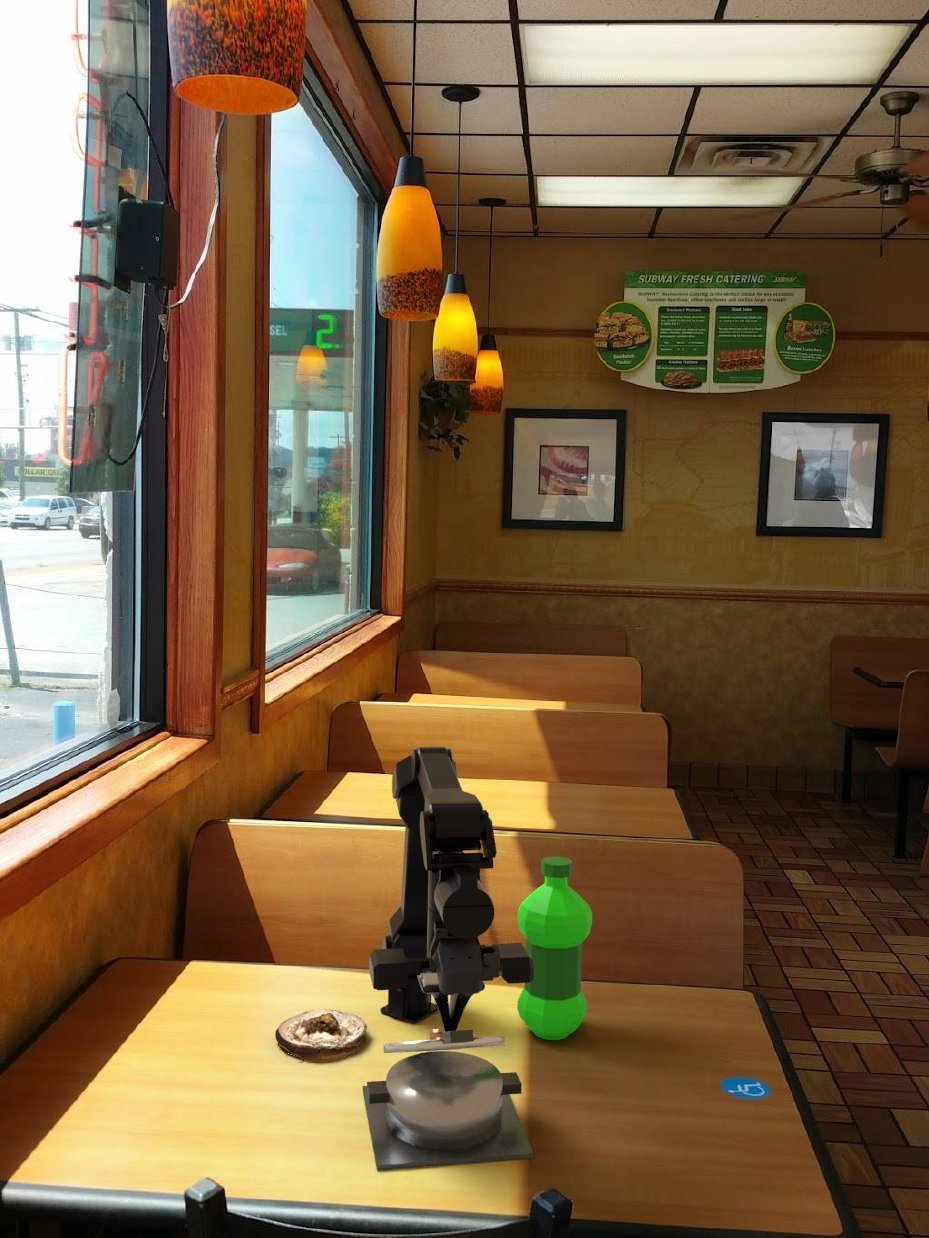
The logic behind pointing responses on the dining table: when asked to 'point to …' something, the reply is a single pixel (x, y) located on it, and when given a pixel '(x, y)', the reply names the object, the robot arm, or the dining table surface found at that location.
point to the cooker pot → (444, 1113)
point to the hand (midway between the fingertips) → (449, 1035)
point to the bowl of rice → (321, 1035)
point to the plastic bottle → (554, 953)
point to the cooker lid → (445, 1042)
